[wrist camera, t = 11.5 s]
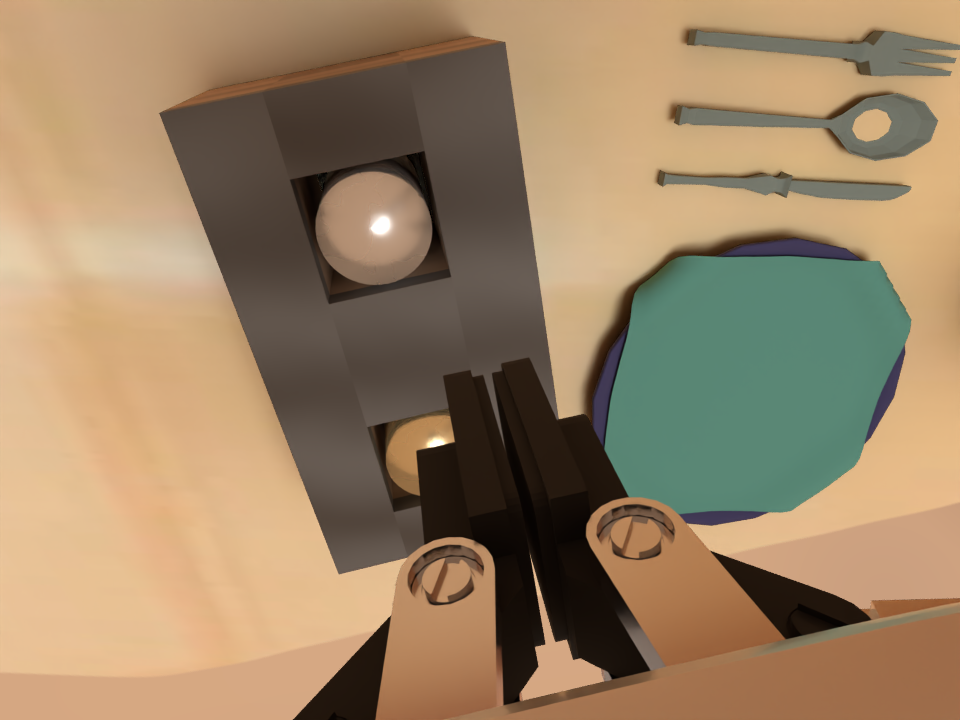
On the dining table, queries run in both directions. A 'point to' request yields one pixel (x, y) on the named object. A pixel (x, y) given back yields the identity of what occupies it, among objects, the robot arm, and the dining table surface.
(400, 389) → the peg block
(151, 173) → the dining table surface
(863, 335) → the cutlery set
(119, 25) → the dining table surface
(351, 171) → the steel peg
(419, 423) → the brass peg
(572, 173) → the dining table surface
